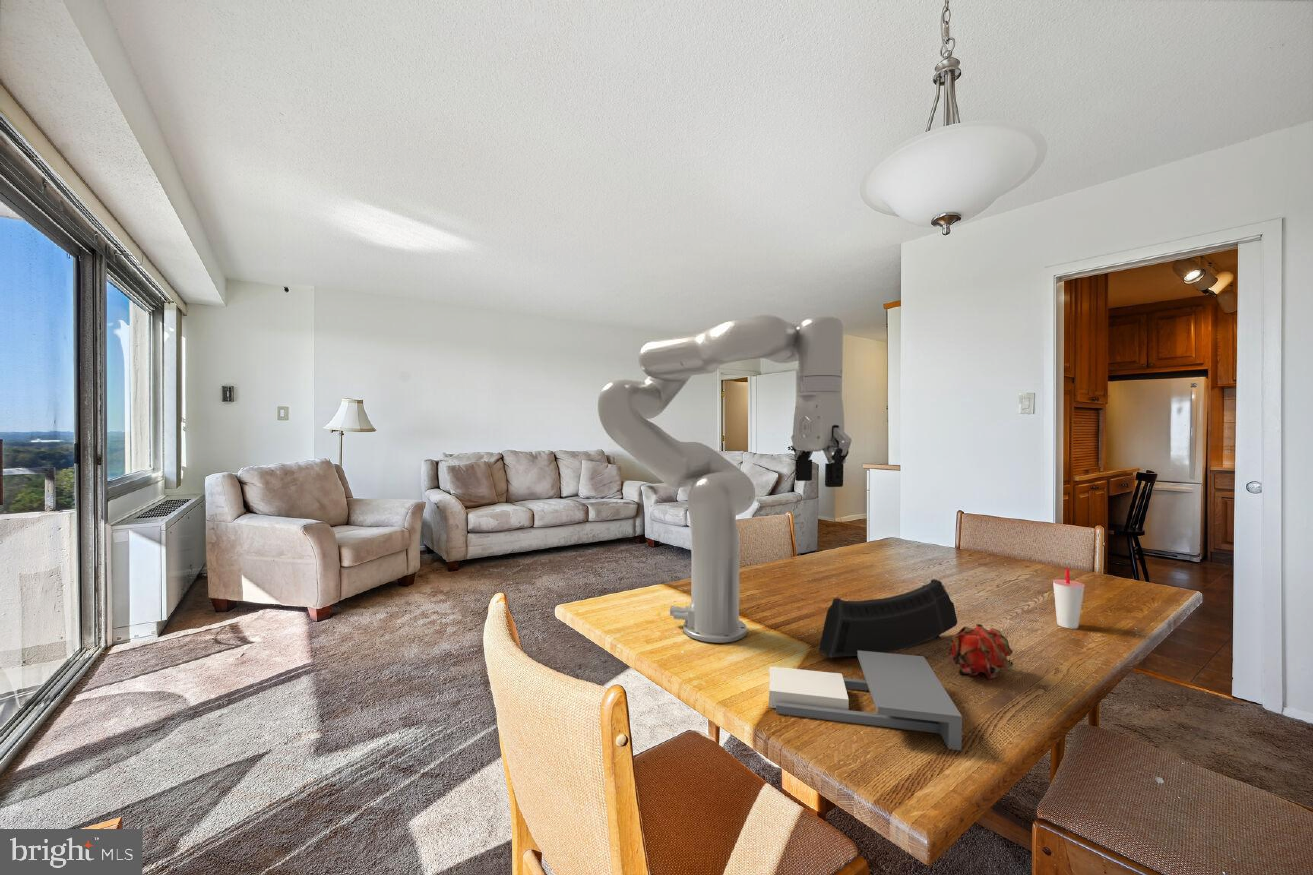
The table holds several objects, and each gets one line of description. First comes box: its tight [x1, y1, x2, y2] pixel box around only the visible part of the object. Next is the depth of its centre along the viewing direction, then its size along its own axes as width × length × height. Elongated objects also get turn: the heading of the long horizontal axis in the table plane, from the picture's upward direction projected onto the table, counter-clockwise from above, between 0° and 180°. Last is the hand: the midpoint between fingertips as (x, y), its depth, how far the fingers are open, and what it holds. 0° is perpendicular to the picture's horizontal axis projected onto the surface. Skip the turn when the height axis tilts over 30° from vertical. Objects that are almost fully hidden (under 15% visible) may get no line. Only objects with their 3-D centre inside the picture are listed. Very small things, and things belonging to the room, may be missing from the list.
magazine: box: [818, 578, 958, 659], centre depth 99 cm, size 18×3×31 cm
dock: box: [775, 650, 963, 751], centre depth 79 cm, size 23×18×4 cm
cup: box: [1052, 568, 1086, 630], centre depth 110 cm, size 5×5×12 cm
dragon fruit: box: [948, 623, 1014, 680], centre depth 89 cm, size 8×8×12 cm
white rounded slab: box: [768, 666, 850, 710], centre depth 81 cm, size 11×8×2 cm
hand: (818, 483), depth 96 cm, fingers open, 9 cm apart
